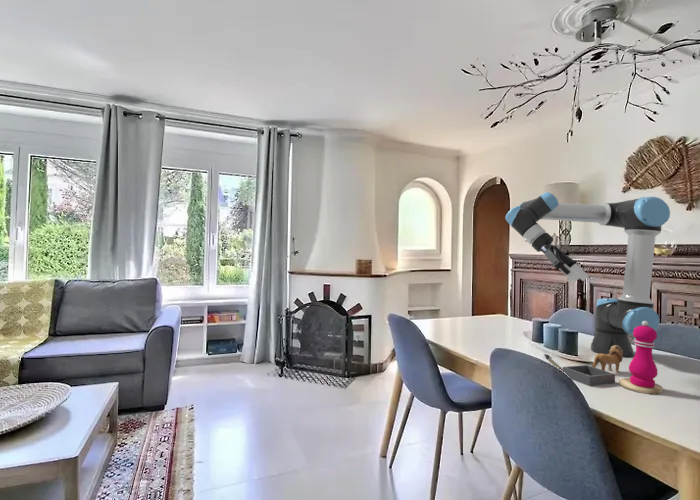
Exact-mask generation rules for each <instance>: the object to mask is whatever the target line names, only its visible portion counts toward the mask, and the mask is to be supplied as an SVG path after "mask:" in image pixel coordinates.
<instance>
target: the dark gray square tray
mask: <svg viewBox="0 0 700 500" xmlns="http://www.w3.org/2000/svg"><path fill="white" fill-rule="evenodd" d="M562 369H563V372H565V373H566V374H567V375H568V376H569V377H570V378H571V379H570V378H569V379H570V380H572V381H576V382H578V383H580V384H583V385H586V386H589V387H592V386H602V385H603V386H604V385H613V384H615V383H616V373H613V372H610V371H608V370H607V371H606V370H605V371H604V370H601V369H602V368H601V369H600V368H598V367H596V368H595V367H592V365H588V364H581V365H572V366H571V365H569V366H562ZM563 372H562V373H563Z"/></svg>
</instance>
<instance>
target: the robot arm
mask: <svg viewBox="0 0 700 500" xmlns="http://www.w3.org/2000/svg"><path fill="white" fill-rule="evenodd" d="M670 216H671V210H670V206H669V205H668V203H666V202H665V200H664V199H662V198H660V197H657V196H643V197H642V196H641V197H640V198H639V197H638V198H635V199H629V200H623V201H619V202H618V201H617V202H604V203H602V204H587V203H586V204H585V203H584V204H583V203H570V202H569V203H567V202H559V201H558V198H557V197H556V196H555V195H554V194H553V193H551V192H549V191H546V192H543V193H542V194H540V195H539V196H537V197H536V198H533V199H531V200H527V201H523V202H522V203H520V204H519V205H517V206H515V207H512V208H511V209H510V210H508V212H507V213H506V215H505V221H506V222H507V223H508V224H509V225H510V227H511V228H513V229H514V230H515V232H517V233H518V234H519V235H520V236H521V237H522V238H523V239H524V242H526V243H527V242H528V244H529V245H531V248H533V249H534V250H535V251H536V252H538V253H539V252H542V253H543V254H544V256H545V257H546V258H547V260H549V262H550V263H551V264H552V265H553V267H554V268H555V270H556V271H558V270H559V271H561V272H562V274H563V275H565V277H566V278H567V279H568V280H570V282H572V283H573V284H574V283H576V282H577V281H578V280H579V279H580V280H581V281H582V282H584V281H585V280H586V279H588V278H589V277H590V275H588V273H586V272H585V271H584V270H583V269H582V268H581V267H580V266H579V265H578V264H577V263H578V261H577V260H574V259H573V258H571V257H570V256H569V255H568V254H566V253H565V252H564V251H562V250H561V249H560V248H559V247H558V246H557V245H553V244H552V243H553V242H554V237H553V236H552V235H550V234H549V233H548V232H546V229H545V228H544V227H542V226H541V225H540V224H539V223H537V222H539V221H540V220H548V221H566V222H579V223H581V222H583V223H594V224H595V223H597V224H599V225H600V226H605V227H606V226H607V227H614V228H615V227H616V228H622V229H624V231H623V232H624V233H626V234H627V237H628V238H627V249H626V256H625V267H624V278H623V288H622V295H620V296H619V297H618V298H598V299H597V300H596V306H595V310H596V313H595V315H596V316H595V334H594V336H593V339H592V340H591V341H592V342H591V345H590V350H591V351H592V352H595V353H597V354H609V353H610V349H611V348H610V347H611V346H613V345H617V346H620V348H621V349H622V350H623V358H624V357H626V358H627V357H632V356H633V357H634V348H633V347H632V342H631V339H630V337H629V336H634V335H633V331H634V329H635V328H636V327H638V326H643V325H642V322H643V321H647V322H648V323H649V325H648V326H649V327H651V328H653V329H654V330H655V331H656V332H657V329H658V328H659V325H660V316H659V314H658V313H657V311H655V309H654V304H655V302H654V301H653V300H652V299H651V298H650V296H651V295H650V294H651V285H652V277H653V265H654V264H653V263H654V254H655V244H656V238H657V236H658V235H660V234H661V232H662V226H663V225H665V224H666V223H667V222H668V221H669V219H670Z"/></svg>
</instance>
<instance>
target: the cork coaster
mask: <svg viewBox="0 0 700 500" xmlns="http://www.w3.org/2000/svg"><path fill="white" fill-rule="evenodd" d="M618 384H619V386H620V387H621V388H623V389H626V390H628V391H632V392H636V393H639V394H644V395H645V394H646V395H661V394H663V392H664V391H663V389H664V388H663V386H661V385H660V384H658V383H656V382H655V387H653V388H648V387H642V386H638V385H635V384H632V383H631V382H630V377H629V378H620V379H619V382H618Z"/></svg>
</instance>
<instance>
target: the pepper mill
mask: <svg viewBox="0 0 700 500" xmlns="http://www.w3.org/2000/svg"><path fill="white" fill-rule="evenodd" d="M642 325H643V326H638V327H636V328H635V329H634V331H633V335H632V336H633V337H634V338H635V339H634V343H633V344H634V345H635V354H634V355H633V358H632V359H631V361H630V363H629V365H628V366H629V367H628V370H629V372H630V374H631V376H629V378H630V382H631V383H632V384H635V385H638V386H642V387H648V388H653V387H655V383H656V381H655V380H654V379H655V378H656V377H657V376H658V368H657V365H656V363H655V361H654V358H653V348H655V342H654V341H656V339H657V337H658V334H657V330H656V331H655V330H654V329H653V328H651V327H649V326H648V325H649V323H648V322H647V321H643V322H642Z"/></svg>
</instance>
